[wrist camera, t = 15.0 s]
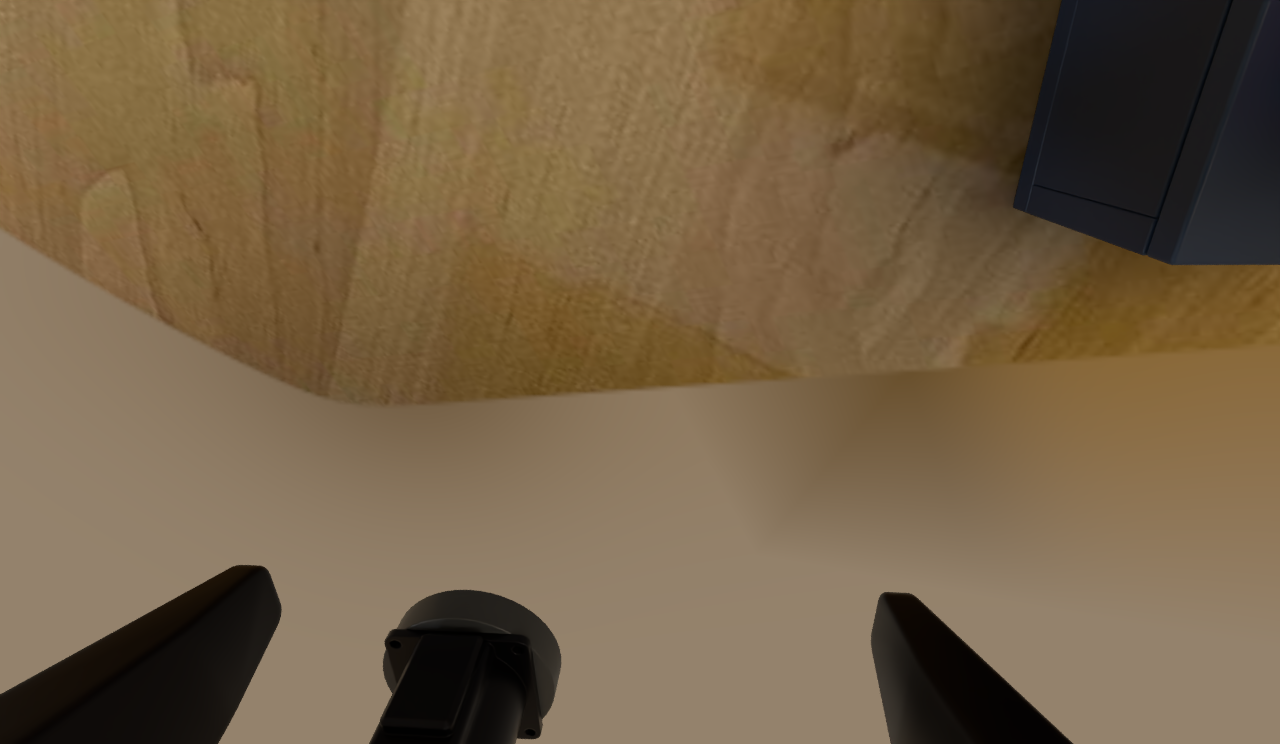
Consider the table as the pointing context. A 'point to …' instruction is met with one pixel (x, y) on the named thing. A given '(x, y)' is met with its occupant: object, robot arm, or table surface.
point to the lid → (1230, 153)
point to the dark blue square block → (1117, 113)
